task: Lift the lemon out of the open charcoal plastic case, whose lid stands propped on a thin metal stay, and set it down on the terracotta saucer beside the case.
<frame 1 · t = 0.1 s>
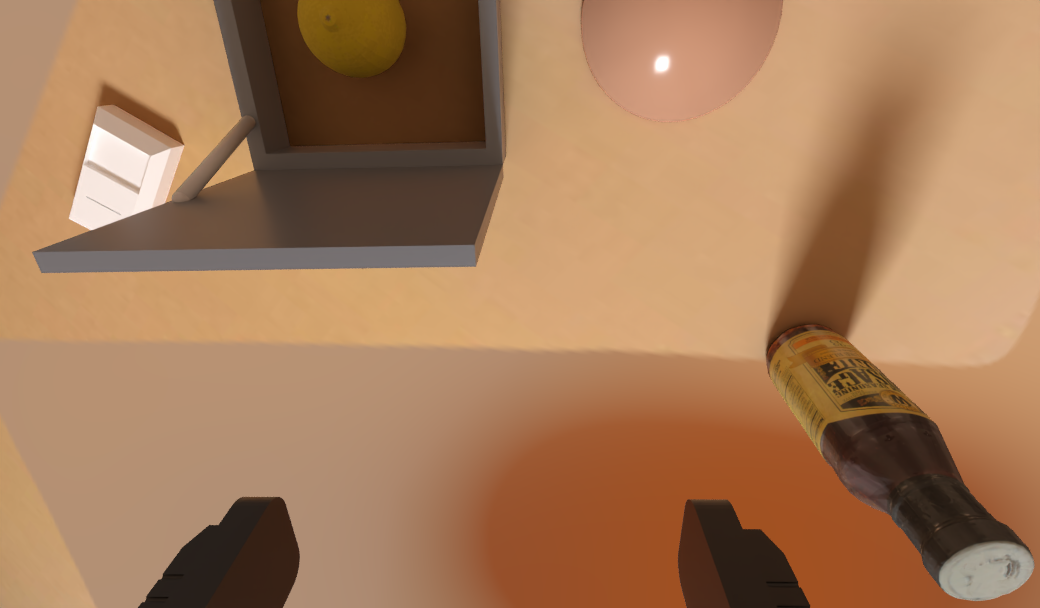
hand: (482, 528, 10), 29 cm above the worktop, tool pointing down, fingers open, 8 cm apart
sauce bottle: (797, 352, 42), on the worktop
white rocker switch: (138, 178, 38), on the worktop
case: (374, 28, 33), on the worktop
lemon: (375, 29, 33), resting in case
saucer: (678, 18, 32), on the worktop
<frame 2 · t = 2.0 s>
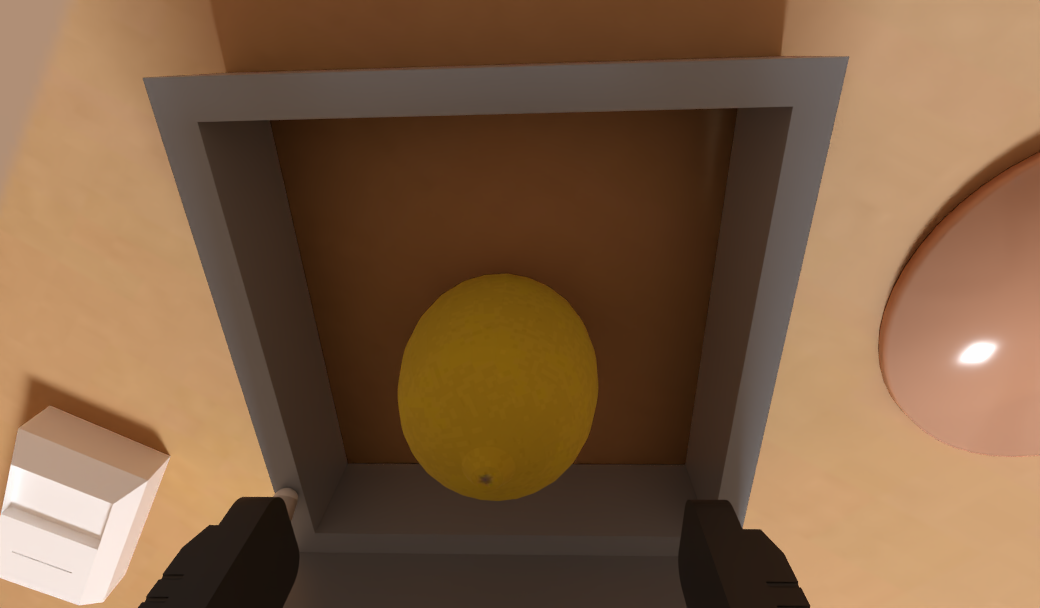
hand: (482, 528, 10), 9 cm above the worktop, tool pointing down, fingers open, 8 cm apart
white rocker switch: (101, 488, 24), on the worktop
case: (507, 313, 18), on the worktop
lemon: (507, 310, 18), resting in case
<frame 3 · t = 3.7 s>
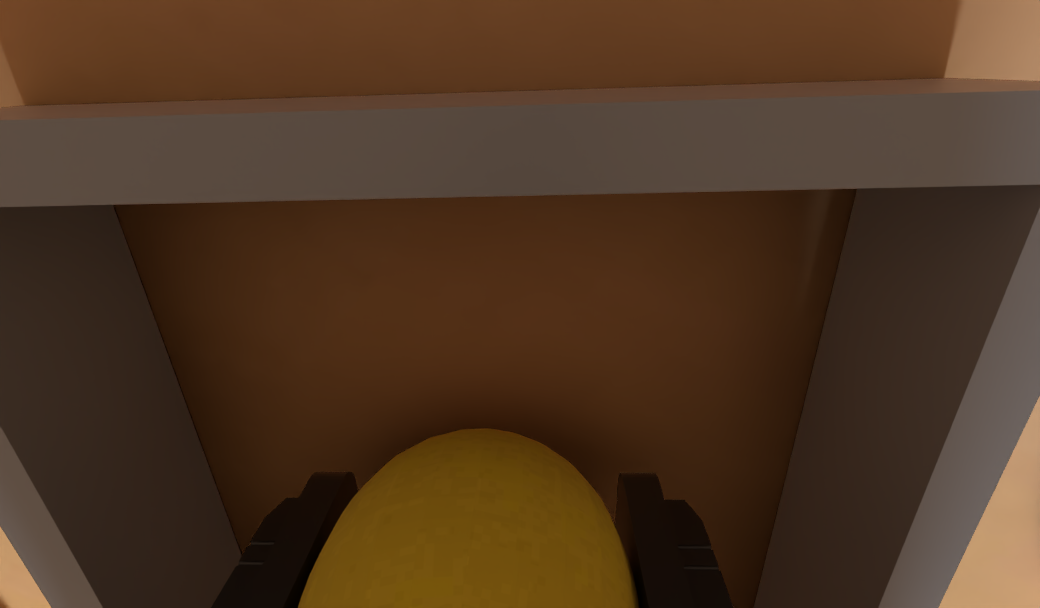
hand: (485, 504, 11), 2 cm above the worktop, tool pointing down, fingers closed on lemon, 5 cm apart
case: (491, 455, 12), on the worktop
lemon: (491, 449, 12), resting in case, touching gripper
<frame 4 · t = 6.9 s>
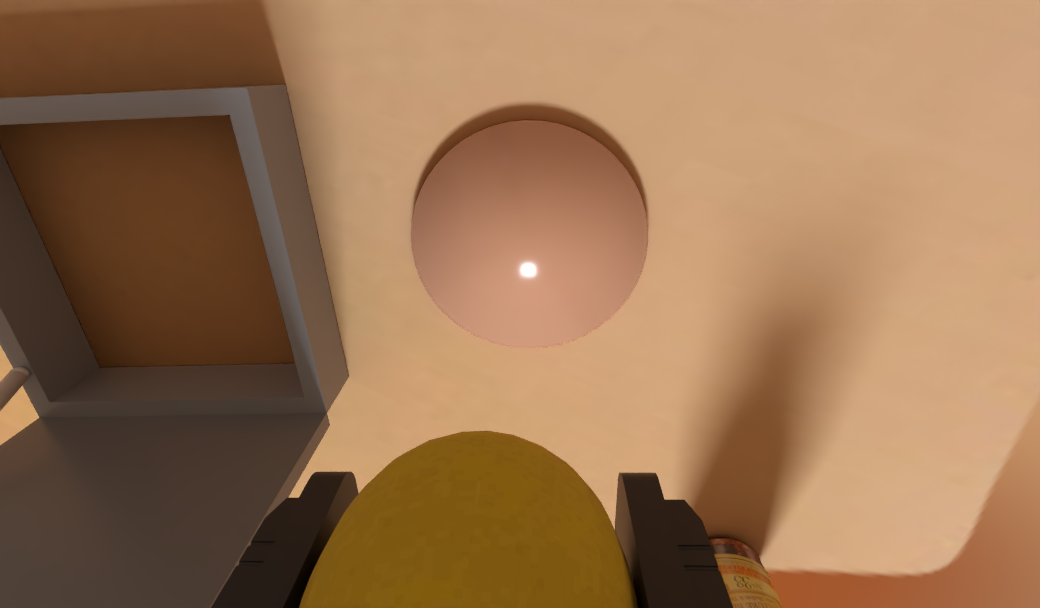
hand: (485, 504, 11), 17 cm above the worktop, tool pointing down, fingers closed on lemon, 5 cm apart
sauce bottle: (710, 559, 36), on the worktop
case: (174, 253, 28), on the worktop
lemon: (491, 451, 12), point 16 cm above the worktop, touching gripper
saucer: (528, 242, 27), on the worktop
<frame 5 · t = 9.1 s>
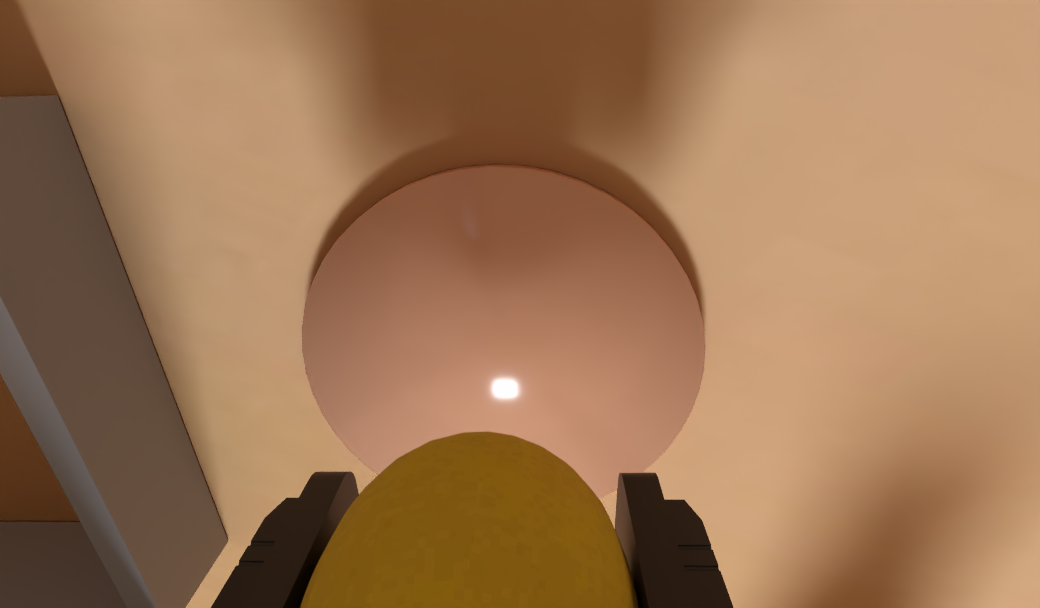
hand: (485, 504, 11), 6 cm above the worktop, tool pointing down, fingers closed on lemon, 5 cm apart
lemon: (492, 451, 12), point 4 cm above the worktop, touching gripper
saucer: (503, 360, 16), on the worktop
when the fingers open (4 cm above the worktop, at t = 10.5 s): lemon drops 1 cm, resting on saucer.
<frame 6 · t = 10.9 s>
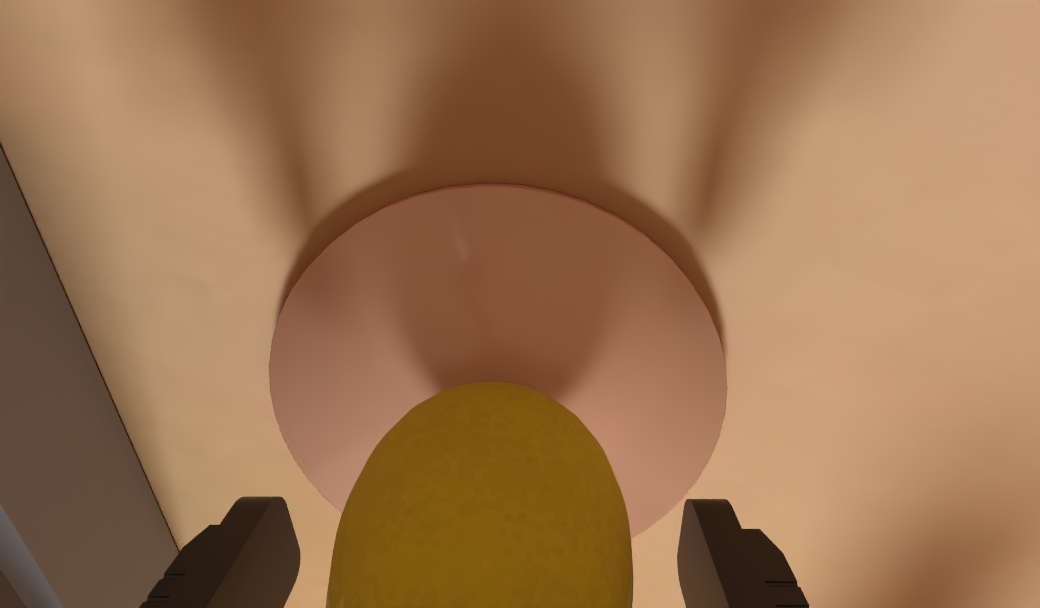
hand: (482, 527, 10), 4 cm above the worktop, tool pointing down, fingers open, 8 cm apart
lemon: (500, 409, 14), resting on saucer
saucer: (497, 401, 14), on the worktop
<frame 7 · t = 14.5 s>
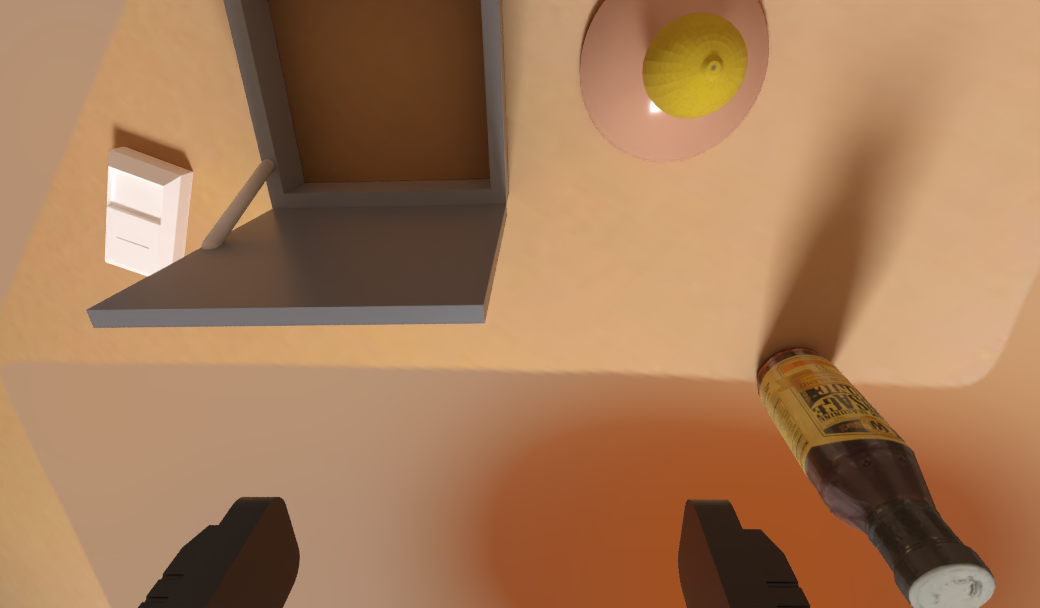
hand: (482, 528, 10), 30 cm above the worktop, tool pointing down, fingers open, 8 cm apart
sauce bottle: (786, 373, 44), on the worktop
white rocker switch: (159, 213, 40), on the worktop
case: (385, 76, 35), on the worktop
lemon: (674, 67, 33), resting on saucer
saucer: (671, 67, 34), on the worktop
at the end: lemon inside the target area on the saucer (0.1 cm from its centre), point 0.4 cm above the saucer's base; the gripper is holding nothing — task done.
